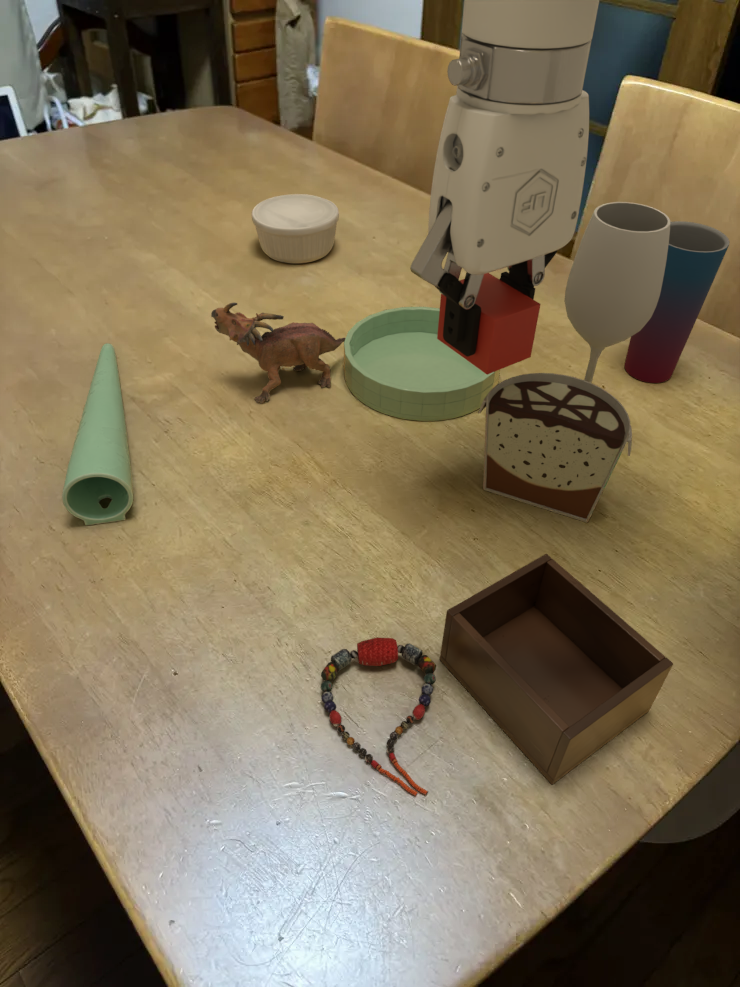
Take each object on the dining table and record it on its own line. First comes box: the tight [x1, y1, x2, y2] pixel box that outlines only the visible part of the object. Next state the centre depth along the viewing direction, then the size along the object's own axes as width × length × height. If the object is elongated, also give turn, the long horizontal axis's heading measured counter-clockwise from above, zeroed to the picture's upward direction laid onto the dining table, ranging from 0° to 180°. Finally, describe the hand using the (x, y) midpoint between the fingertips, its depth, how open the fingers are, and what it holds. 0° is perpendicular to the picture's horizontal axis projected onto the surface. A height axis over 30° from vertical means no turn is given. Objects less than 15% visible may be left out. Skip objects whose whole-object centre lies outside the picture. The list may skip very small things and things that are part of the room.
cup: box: [624, 220, 730, 384], centre depth 76 cm, size 7×7×15 cm
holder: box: [439, 553, 674, 785], centre depth 50 cm, size 11×9×6 cm
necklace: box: [320, 637, 437, 797], centre depth 49 cm, size 8×11×2 cm
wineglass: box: [564, 201, 671, 384], centre depth 66 cm, size 8×8×21 cm
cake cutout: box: [478, 372, 633, 524], centre depth 64 cm, size 12×6×10 cm, turn 65°
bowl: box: [343, 306, 501, 422], centre depth 78 cm, size 16×16×4 cm
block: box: [437, 273, 541, 374], centre depth 56 cm, size 6×4×4 cm
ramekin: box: [251, 193, 340, 264], centre depth 99 cm, size 11×11×5 cm
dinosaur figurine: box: [210, 302, 346, 404], centre depth 75 cm, size 14×6×9 cm, turn 110°
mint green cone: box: [61, 342, 134, 526], centre depth 70 cm, size 5×6×27 cm
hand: (485, 335), depth 57 cm, fingers closed on block, 4 cm apart
